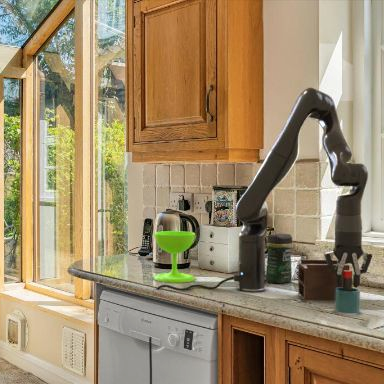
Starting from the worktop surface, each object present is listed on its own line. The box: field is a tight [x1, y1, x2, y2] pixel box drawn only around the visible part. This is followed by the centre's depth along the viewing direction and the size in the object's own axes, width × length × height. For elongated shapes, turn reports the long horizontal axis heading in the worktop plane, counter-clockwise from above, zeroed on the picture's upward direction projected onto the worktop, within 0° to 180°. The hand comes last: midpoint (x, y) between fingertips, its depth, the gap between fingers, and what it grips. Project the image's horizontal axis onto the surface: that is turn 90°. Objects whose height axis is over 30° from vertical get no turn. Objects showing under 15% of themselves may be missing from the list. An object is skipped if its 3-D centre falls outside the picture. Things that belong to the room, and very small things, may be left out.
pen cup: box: [334, 287, 361, 315], centre depth 177 cm, size 7×7×7 cm
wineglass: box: [153, 230, 196, 284], centre depth 232 cm, size 16×16×18 cm
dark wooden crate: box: [297, 259, 350, 302], centre depth 196 cm, size 14×11×12 cm
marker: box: [343, 269, 353, 292], centre depth 177 cm, size 2×2×12 cm
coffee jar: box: [265, 232, 293, 284], centre depth 226 cm, size 10×8×19 cm
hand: (347, 286), depth 177 cm, fingers open, 4 cm apart
